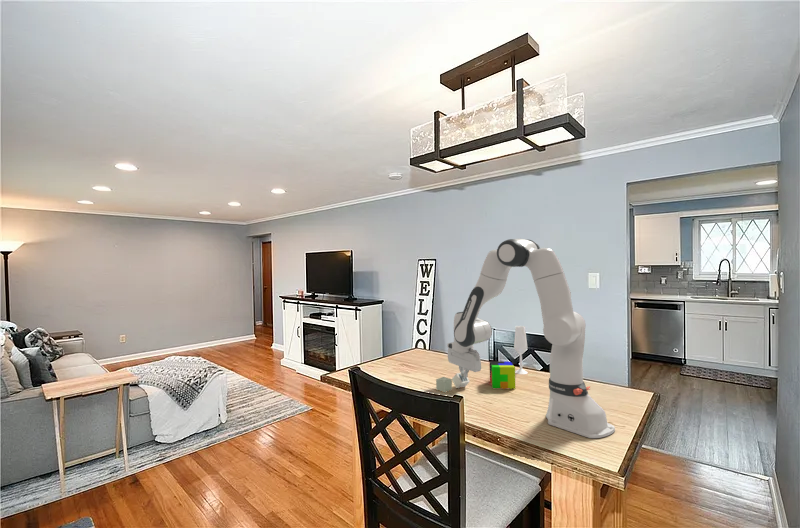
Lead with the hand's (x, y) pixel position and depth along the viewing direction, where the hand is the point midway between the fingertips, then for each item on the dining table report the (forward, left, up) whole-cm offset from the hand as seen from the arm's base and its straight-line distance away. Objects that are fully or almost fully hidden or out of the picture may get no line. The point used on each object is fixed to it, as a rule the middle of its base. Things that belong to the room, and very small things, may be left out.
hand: (464, 376), depth 167 cm
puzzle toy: (-4, -19, -6) cm, 21 cm away
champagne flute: (+6, -42, -6) cm, 43 cm away
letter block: (+1, 0, -1) cm, 1 cm away
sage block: (+5, +8, -6) cm, 11 cm away
